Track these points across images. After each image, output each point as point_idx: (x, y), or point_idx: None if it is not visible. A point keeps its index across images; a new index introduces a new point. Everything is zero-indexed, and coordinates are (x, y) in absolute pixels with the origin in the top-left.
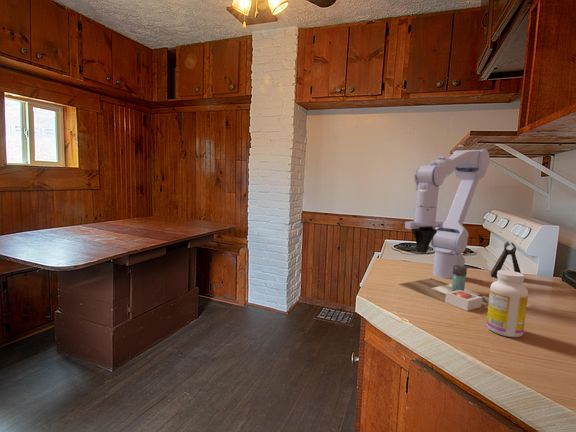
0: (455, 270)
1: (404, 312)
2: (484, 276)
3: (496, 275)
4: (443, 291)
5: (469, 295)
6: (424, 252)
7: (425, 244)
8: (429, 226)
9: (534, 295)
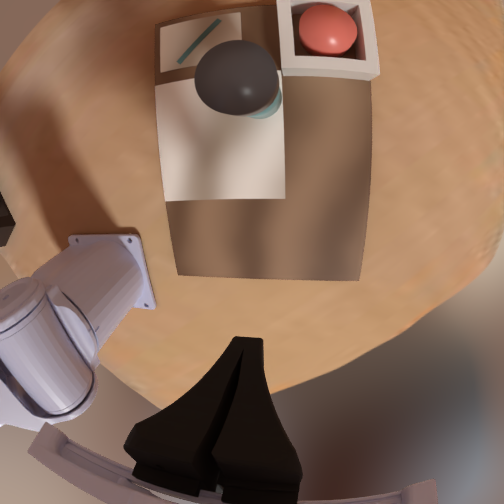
0: (278, 82)
1: (496, 132)
2: (23, 234)
3: (7, 218)
4: (269, 150)
5: (316, 12)
6: (252, 338)
7: (257, 375)
8: (157, 488)
9: (26, 91)
